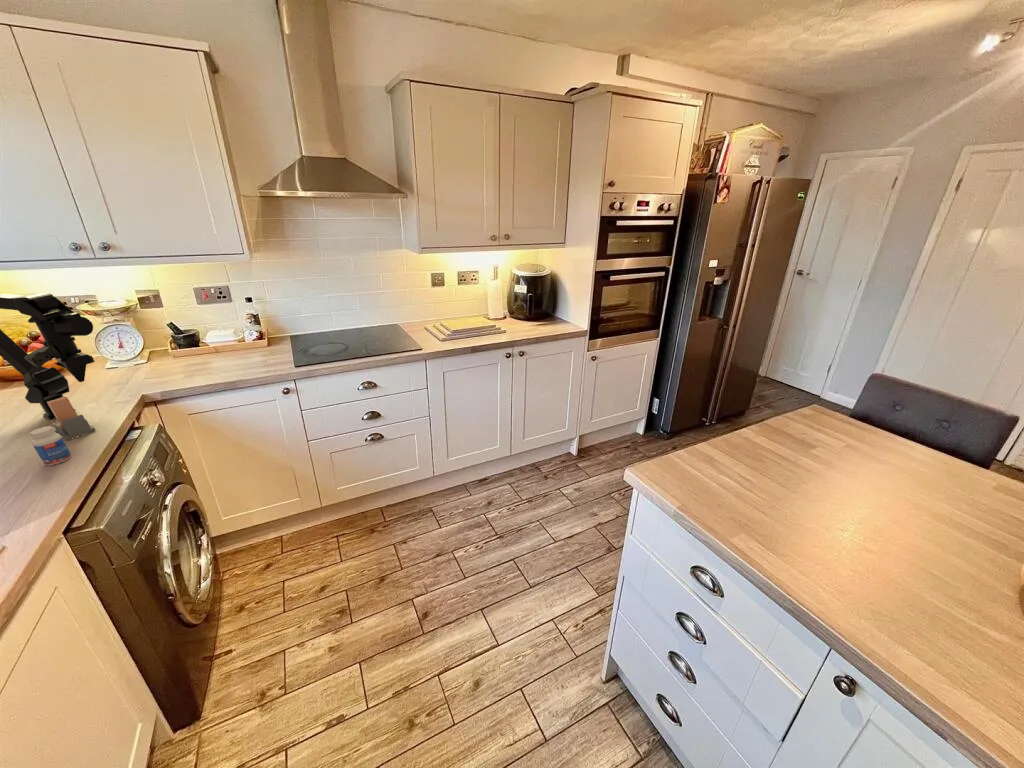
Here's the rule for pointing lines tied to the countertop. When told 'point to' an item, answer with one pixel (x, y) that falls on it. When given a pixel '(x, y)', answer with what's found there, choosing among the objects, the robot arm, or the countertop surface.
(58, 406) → the orange tall block
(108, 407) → the countertop surface
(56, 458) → the pill bottle
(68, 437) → the switch base
